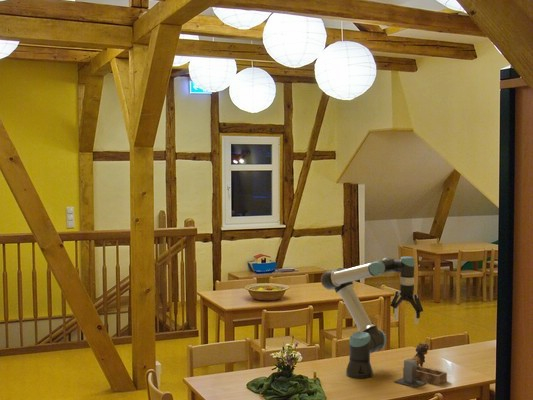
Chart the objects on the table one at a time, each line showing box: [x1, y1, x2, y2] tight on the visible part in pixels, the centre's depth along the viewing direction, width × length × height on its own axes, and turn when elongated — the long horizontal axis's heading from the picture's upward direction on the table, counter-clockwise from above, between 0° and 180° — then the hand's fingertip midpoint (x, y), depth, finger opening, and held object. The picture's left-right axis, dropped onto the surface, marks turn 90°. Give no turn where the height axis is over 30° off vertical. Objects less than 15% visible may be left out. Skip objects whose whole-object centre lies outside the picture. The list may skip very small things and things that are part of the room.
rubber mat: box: [393, 376, 427, 389], centre depth 377 cm, size 14×10×1 cm
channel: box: [402, 365, 448, 386], centre depth 384 cm, size 22×9×5 cm, turn 47°
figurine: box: [410, 342, 430, 367], centre depth 400 cm, size 7×22×15 cm, turn 137°
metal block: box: [403, 358, 417, 384], centre depth 377 cm, size 5×5×12 cm
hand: (406, 321), depth 385 cm, fingers open, 13 cm apart
